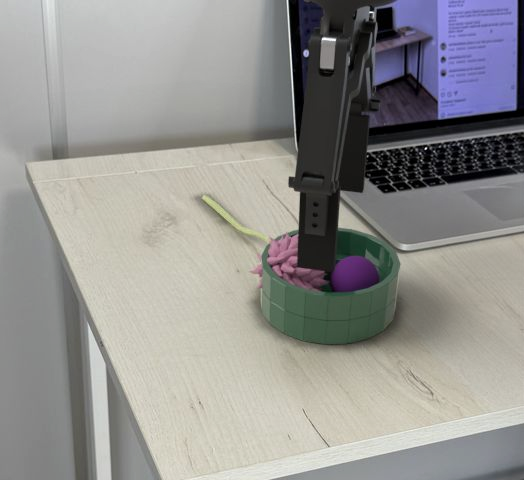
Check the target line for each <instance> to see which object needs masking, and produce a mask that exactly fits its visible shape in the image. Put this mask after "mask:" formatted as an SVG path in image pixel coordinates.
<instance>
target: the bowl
mask: <svg viewBox="0 0 524 480" xmlns="http://www.w3.org/2000/svg"><path fill="white" fill-rule="evenodd" d="M287 233H288V234H289V237H291V238H292V237H293V236H295V235H297V234H298V229H294V230H291V231H288V232H287ZM282 235H283V237H284V239H285V237H286V233H283V234H281V235H278V236H277V237H275V238H273V239H274V240H275V241H276V242H277V241H279V240H280V239H281V238H282ZM269 249H270V243H269V244H268V243H267V244H266V246H265V247H264V249H263V251H262V254H260V255H261V262H260V264H261V278H260V279H262V288H260V307H261V308H260V309H261V313H262V315H263V317H264V318H265V319H266V320H267V322H268V323H269V325H271V326H272V327H273V328H275V329H276V330H277V331H279V332H281V333H283V334H284V335H286V336H288V337H291V338H295V339H297V340H300V341H303V342H308V343H315V344H322V345H342V344H343V345H347V344H351V343H356V342H361V341H366V340H368V339H370V338H373V337H374V336H376V335H378V334H381V333H382V332H383V331H385V330H386V328H387V327H389V325H390V324H391V323H392V322H393V320H394V316H395V312H396V307H397V300H398V290H399V283H400V274H401V264H402V263H401V260H400V258H399V255H398V253H397V251H396V250H395V249H394V248H393V247H392V246H390V245H389V243H387V242H386V241H384V240H382V239H380V238H378V237H376V236H374V235H373V234H370V233H366V232H363V231H360V230H356V229H352V228H345V227H339V226H338V235H337V250H336V264H337V263H338V262H339V261H340V260H342V259H344V258H346V257H349V256H361V257H364V258H366V259H368V260H369V261H371V262H372V263H373V264H374V266H375V267H376V269H377V271H378V274H379V283H378V284H376V285H374V286H371V287H369V288H366V289H361V290H357V291H352V292H333V291H332V288H331V283H330V282H329V283H328V284H327V285H325V286H321V287H319V288H322V290H321V291H314V290H308V289H305V288H302V287H299V286H296V285H293V284H290V283H289V282H287V281H285V280H284V279H282V278H281V277H279V276H277V275H276V273H275V272H274V271H273V270H272V268H271V267H270V264H269V263H268V262H267V259H268V258H269V253H268V251H269ZM336 264H335V265H336ZM324 273H326V274H328V275H325V276H324V278H323V280H325V281H330V277H331V273H332V272H328V271H325V272H324Z"/></svg>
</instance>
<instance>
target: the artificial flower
mask: <svg viewBox="0 0 524 480" xmlns="http://www.w3.org/2000/svg"><path fill="white" fill-rule="evenodd" d="M201 199H202V200H203V201H204V202H206V203H207V205H209V206H210V207H211V208H212V209H213V210H214V211H216V212H217V214H219V215H220V216H221V217H222V218H224V219H225V220H226V221H227V222H228V223H229V224H231V226H233V227H234V228H235V229H236V230H238V231H239V232H241V233H243V234H244V235H246V236H251V237H256V238H259V239H261V240H263V241H265V242H266V243H267V245H268V244H269V243H270V249H269V251H268V253H269V258H268V259H267V262H268V263H269V264H270V267H271V268H272V270H273V271H274V272H275V273H276V275H277V276H279V277H281V278H282V279H284V280H285V281H287V282H289V283H290V284H293V285H296V286H299V287H302V288H305V289H308V290H314V291H321V290H322V288H319V287H321V286H325V285H327V284H328V283H329V282H330V281H325V280H323V278H324V276H325V275H328V274H326V273H324V272H325V271H320V270H313V269H306V268H298V267H297V255H298V234H297V235H295V236H293V237H292V238H291V237H289V234H288V232H287V231H285V234H286V237H285V239H284V237H283V234H281V235H282V238H281V239H280V240H279V241H277V242H276V241H275V240H274V239H275V238H272V237H271V236H269V237H268V236H267V235H264V234H263V233H261V232H258V231H256V230H253V229H250V228H247V227H245V226H243V225H242V224H241V223H240V222H239V221H237V220H236V218H234V217H233V216H232V215H231V214H230V213H228V211H226V210H225V209H224V208H223V207H222V206H221V205H220V204H219V203H217V202H216V201H215V200H214V199H212V198H211V197H210V196H209V195H207V194H203V195H202V197H201ZM255 254H256V256H257V258H258V260H259V262H260V264H258V265H257V266H256V267H255V268H254V269H253V270H249V271H248V272H249V273H251V274H253V275H258V276H259V278H260V279H259V284H258V286H257V288H256V289H258V290H259V289H261V288H262V279H261V255H262V254H260V253H255Z"/></svg>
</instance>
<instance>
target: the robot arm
mask: <svg viewBox="0 0 524 480" xmlns="http://www.w3.org/2000/svg"><path fill="white" fill-rule="evenodd" d="M303 1H304V2H306V3H309V4H312V3H313V4H316V5H318V6H319V7H320V8H321V9H322V17H321V18H320V22H319V27H315V26H314V28H313V32H312V33H311V34H310V38H309V39H308V41H307V48H308V57H307V58H308V60H307V74H306V83H305V89H304V90H305V91H304V98H303V99H304V100H303V107H302V114H301V123H300V131H299V141H298V149H297V156H296V165H295V172H294V176H291V175H289V176H288V181H287V182H288V183H287V184H288V185H287V186H288V188H290V189H293V191H294V192H297V193H299V205H298V229H297V230H298V255H297V267H298V268H306V269H313V270H320V271H328V272H334V269H335V264H336V250H337V235H338V227H339V218H340V205H341V191H343V192H351V193H359V194H363V192H364V190H365V180H366V167H367V158H368V157H367V156H368V146H369V145H368V144H369V134H370V133H369V132H370V121H371V115H368V114H365V113H371V114H372V113H373V114H379V112H380V108H381V98H374V95H375V94H376V91H377V86H376V43H377V42H376V40H377V35H378V21H377V8H379V7H384V6H388V5H391V4H393V3H395V2H397V1H398V0H303Z"/></svg>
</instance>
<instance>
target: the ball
mask: <svg viewBox="0 0 524 480" xmlns="http://www.w3.org/2000/svg"><path fill="white" fill-rule="evenodd" d="M330 283H331V288H332V291H333V292H352V291H357V290H361V289H366V288H369V287H371V286H374V285H376V284H378V283H379V274H378V271H377V269H376V267H375V266H374V264H373V263H372V262H371V261H369V260H368V259H366V258H364V257H361V256H349V257H346V258H344V259H342V260H340V261H339V262H338V263H337V264H336V265H335V269H334V272H332V273H331V277H330Z"/></svg>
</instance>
